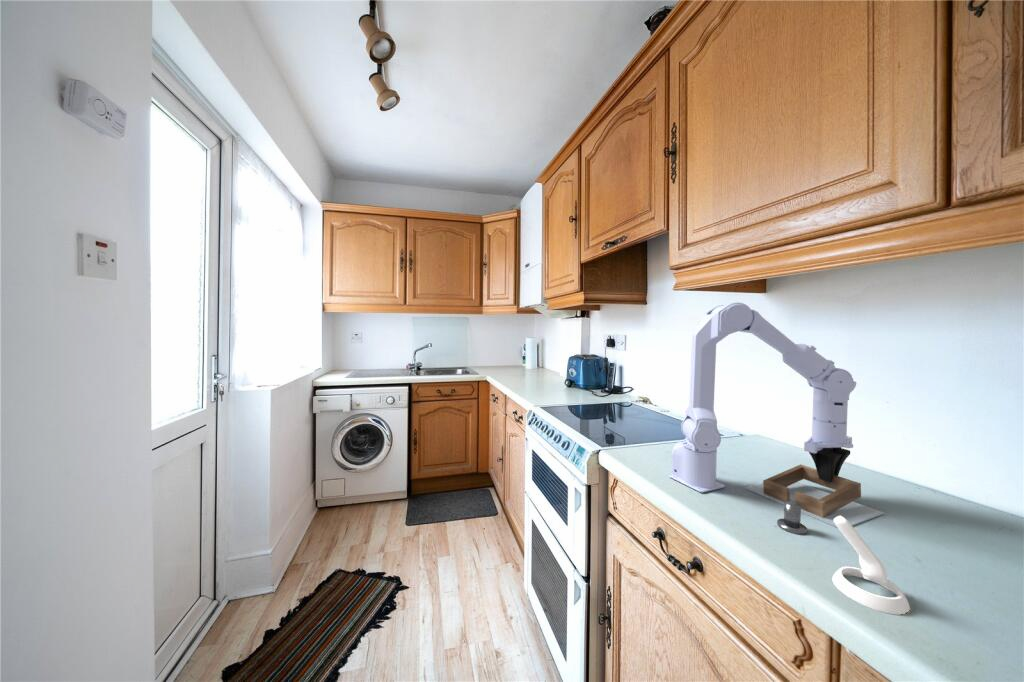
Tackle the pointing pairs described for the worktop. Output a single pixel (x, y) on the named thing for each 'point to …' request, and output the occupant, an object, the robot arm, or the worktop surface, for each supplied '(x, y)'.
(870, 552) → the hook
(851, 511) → the mat
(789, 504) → the post
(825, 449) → the robot arm
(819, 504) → the wooden frame
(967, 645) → the worktop surface
